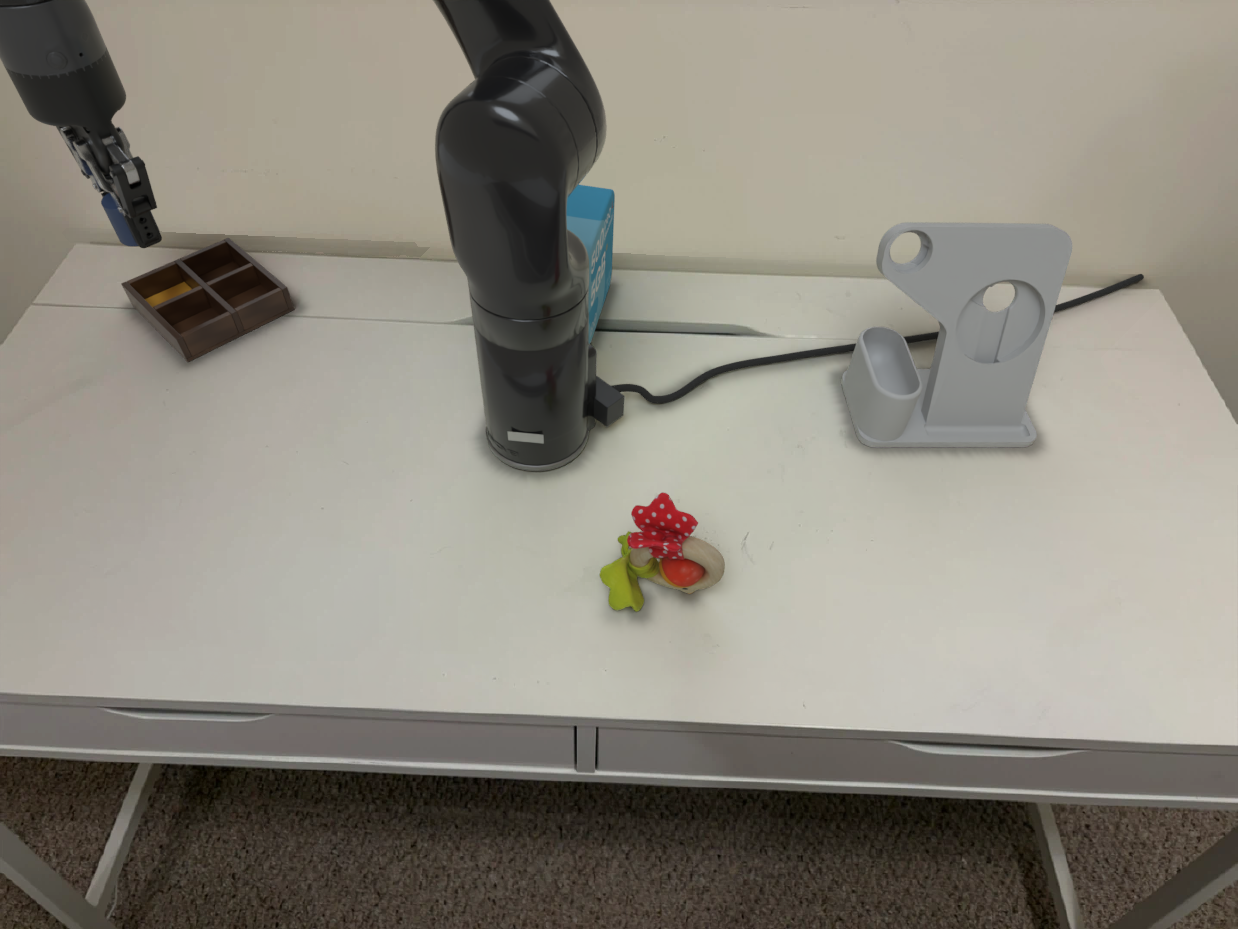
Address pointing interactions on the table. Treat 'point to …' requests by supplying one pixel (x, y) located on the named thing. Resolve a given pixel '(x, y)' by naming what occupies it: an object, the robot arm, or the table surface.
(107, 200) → the blue cylinder
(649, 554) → the bird rattle
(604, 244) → the data package
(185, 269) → the grid
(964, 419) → the phone holder
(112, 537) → the table surface
